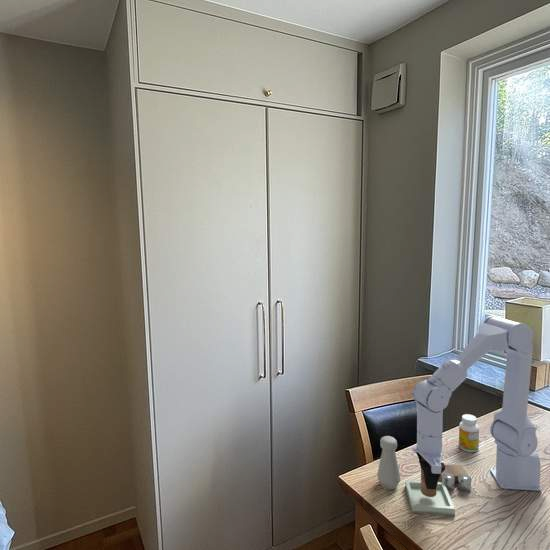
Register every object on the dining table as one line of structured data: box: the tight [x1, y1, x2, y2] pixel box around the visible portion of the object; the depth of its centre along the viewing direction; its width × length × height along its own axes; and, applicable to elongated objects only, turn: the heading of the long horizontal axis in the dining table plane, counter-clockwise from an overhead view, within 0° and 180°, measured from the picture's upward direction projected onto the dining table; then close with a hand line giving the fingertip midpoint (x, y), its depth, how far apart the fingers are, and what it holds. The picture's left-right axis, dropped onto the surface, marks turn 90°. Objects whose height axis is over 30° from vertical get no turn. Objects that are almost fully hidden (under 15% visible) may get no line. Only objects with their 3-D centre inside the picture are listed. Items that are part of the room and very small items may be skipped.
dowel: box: [420, 458, 437, 497], centre depth 98 cm, size 4×4×8 cm
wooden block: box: [438, 463, 470, 485], centre depth 107 cm, size 7×5×2 cm
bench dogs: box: [442, 473, 472, 493], centre depth 102 cm, size 7×3×3 cm, turn 81°
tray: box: [404, 479, 456, 517], centre depth 98 cm, size 10×10×2 cm
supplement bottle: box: [458, 413, 480, 453], centre depth 120 cm, size 5×5×10 cm
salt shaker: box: [376, 435, 401, 491], centre depth 104 cm, size 6×6×13 cm
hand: (429, 482), depth 98 cm, fingers closed on dowel, 3 cm apart
